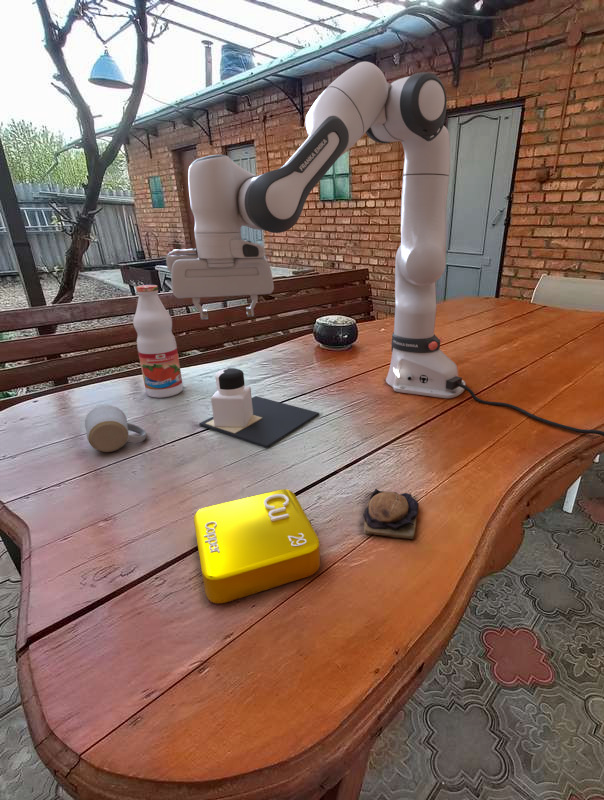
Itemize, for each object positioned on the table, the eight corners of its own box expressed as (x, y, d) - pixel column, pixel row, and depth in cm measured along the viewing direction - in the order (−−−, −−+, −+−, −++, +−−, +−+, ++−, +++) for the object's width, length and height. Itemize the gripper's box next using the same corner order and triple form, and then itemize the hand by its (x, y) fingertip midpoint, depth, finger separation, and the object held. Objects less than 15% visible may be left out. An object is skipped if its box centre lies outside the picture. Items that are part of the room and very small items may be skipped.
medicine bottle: (253, 414, 100) (249, 365, 96) (246, 427, 94) (241, 376, 89) (223, 413, 101) (217, 365, 96) (214, 427, 94) (207, 376, 89)
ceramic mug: (91, 458, 83) (83, 423, 80) (89, 441, 89) (81, 408, 86) (150, 445, 88) (144, 412, 85) (144, 430, 94) (138, 398, 91)
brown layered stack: (416, 542, 62) (418, 522, 61) (359, 534, 63) (360, 514, 62) (418, 498, 72) (420, 480, 70) (368, 493, 73) (369, 474, 71)
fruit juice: (182, 383, 121) (166, 282, 110) (184, 395, 113) (167, 287, 102) (146, 388, 117) (126, 284, 106) (146, 400, 109) (124, 289, 98)
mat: (319, 414, 102) (319, 411, 102) (267, 448, 87) (267, 444, 87) (256, 398, 111) (255, 395, 111) (199, 425, 96) (198, 422, 96)
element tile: (195, 532, 64) (191, 506, 62) (292, 507, 69) (290, 483, 67) (208, 610, 51) (203, 580, 49) (324, 572, 56) (324, 544, 55)
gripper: (162, 250, 80) (174, 323, 85) (271, 248, 84) (276, 317, 90) (166, 248, 85) (177, 317, 91) (268, 246, 90) (273, 311, 95)
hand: (227, 317), depth 90 cm, fingers open, 8 cm apart
